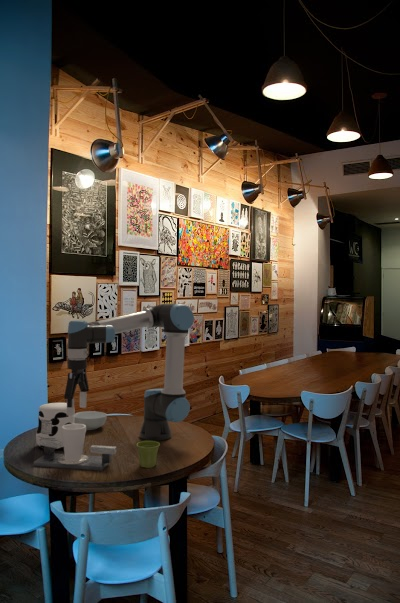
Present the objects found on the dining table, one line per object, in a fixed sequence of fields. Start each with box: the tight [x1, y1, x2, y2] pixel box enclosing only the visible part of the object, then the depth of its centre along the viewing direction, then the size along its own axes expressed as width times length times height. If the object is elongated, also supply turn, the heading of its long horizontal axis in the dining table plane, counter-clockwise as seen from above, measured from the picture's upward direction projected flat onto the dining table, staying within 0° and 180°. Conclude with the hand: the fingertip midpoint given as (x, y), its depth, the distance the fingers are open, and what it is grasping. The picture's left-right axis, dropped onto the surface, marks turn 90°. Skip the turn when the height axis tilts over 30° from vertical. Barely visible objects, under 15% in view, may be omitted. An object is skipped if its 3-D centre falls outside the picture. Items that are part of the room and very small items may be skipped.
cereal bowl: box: [74, 410, 108, 431], centre depth 251 cm, size 17×17×7 cm
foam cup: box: [62, 423, 87, 461], centre depth 198 cm, size 10×9×13 cm
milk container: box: [35, 402, 75, 450], centre depth 219 cm, size 17×17×18 cm
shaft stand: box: [32, 438, 117, 472], centre depth 198 cm, size 34×13×7 cm, turn 83°
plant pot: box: [136, 440, 161, 469], centre depth 197 cm, size 9×9×9 cm
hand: (76, 411), depth 199 cm, fingers open, 13 cm apart
